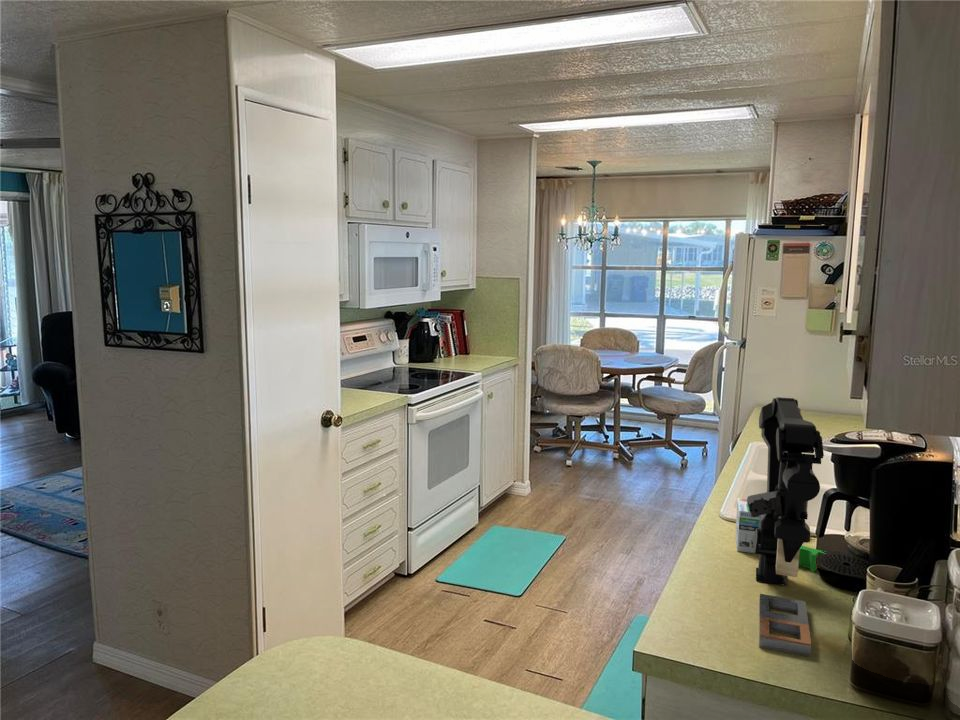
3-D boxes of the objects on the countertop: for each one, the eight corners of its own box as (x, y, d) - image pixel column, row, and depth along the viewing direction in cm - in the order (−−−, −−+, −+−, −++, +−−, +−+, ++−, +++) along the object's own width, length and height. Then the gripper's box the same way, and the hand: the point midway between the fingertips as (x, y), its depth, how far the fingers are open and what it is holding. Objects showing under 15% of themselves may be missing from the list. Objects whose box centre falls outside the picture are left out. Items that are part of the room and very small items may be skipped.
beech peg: (775, 566, 151) (778, 529, 150) (796, 569, 150) (799, 532, 149) (776, 574, 148) (779, 536, 146) (797, 577, 146) (800, 539, 145)
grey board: (759, 602, 156) (759, 592, 156) (804, 610, 153) (805, 600, 153) (759, 647, 139) (759, 636, 138) (810, 657, 136) (811, 646, 135)
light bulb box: (764, 555, 180) (768, 514, 179) (736, 551, 182) (739, 511, 180) (761, 538, 190) (764, 499, 189) (734, 535, 192) (736, 496, 191)
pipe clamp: (778, 563, 176) (779, 545, 176) (783, 558, 179) (784, 540, 178) (827, 576, 169) (828, 558, 168) (831, 571, 172) (833, 553, 171)
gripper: (751, 466, 157) (746, 535, 160) (750, 493, 140) (744, 569, 142) (807, 473, 153) (801, 542, 156) (813, 501, 136) (806, 579, 138)
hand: (787, 557), depth 148 cm, fingers closed on beech peg, 4 cm apart
